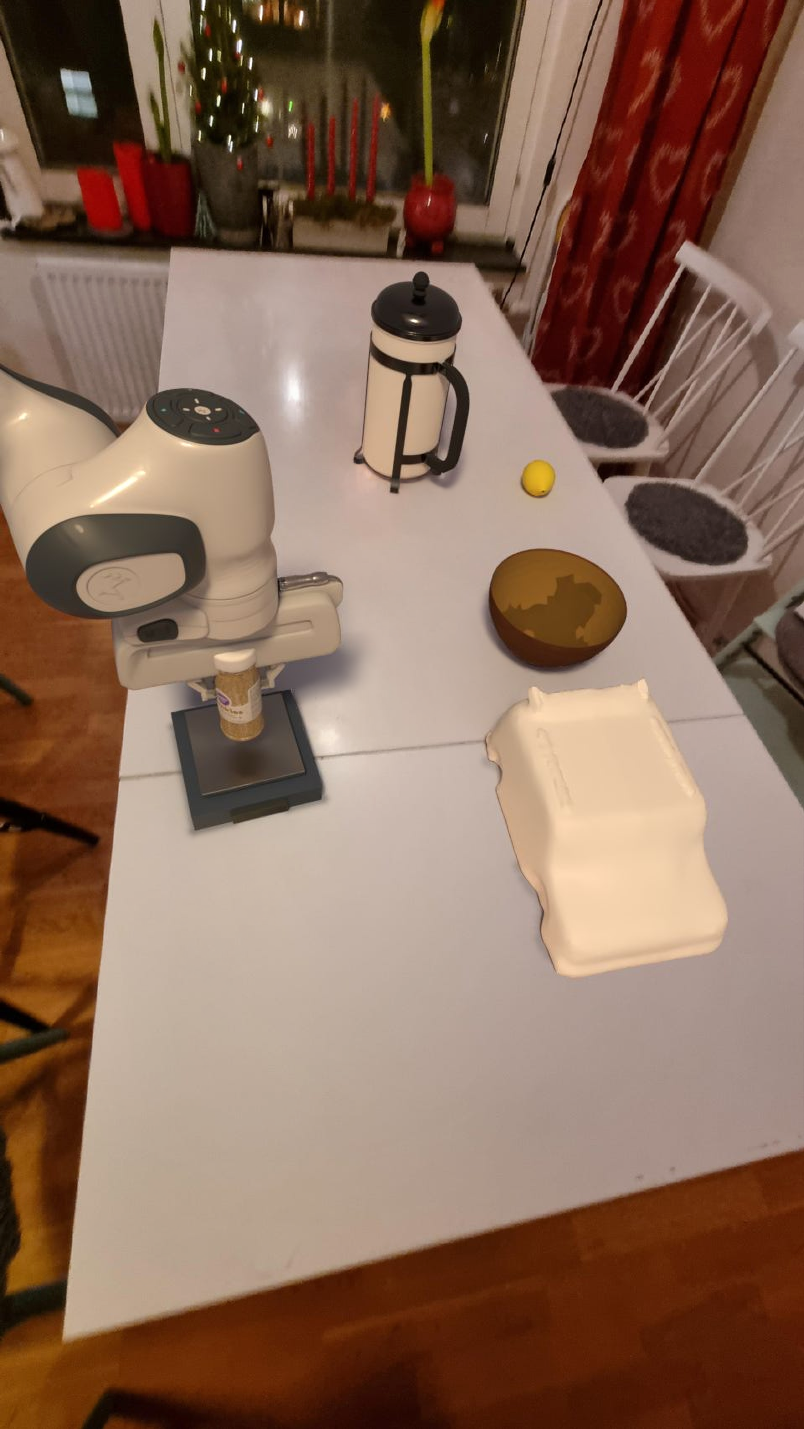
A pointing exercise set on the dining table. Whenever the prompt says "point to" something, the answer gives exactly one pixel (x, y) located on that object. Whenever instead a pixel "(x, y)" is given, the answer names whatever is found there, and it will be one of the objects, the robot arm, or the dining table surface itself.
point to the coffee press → (412, 381)
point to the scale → (250, 799)
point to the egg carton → (607, 829)
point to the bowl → (555, 607)
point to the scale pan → (243, 750)
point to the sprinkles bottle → (239, 694)
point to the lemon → (538, 477)
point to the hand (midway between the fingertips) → (237, 689)
